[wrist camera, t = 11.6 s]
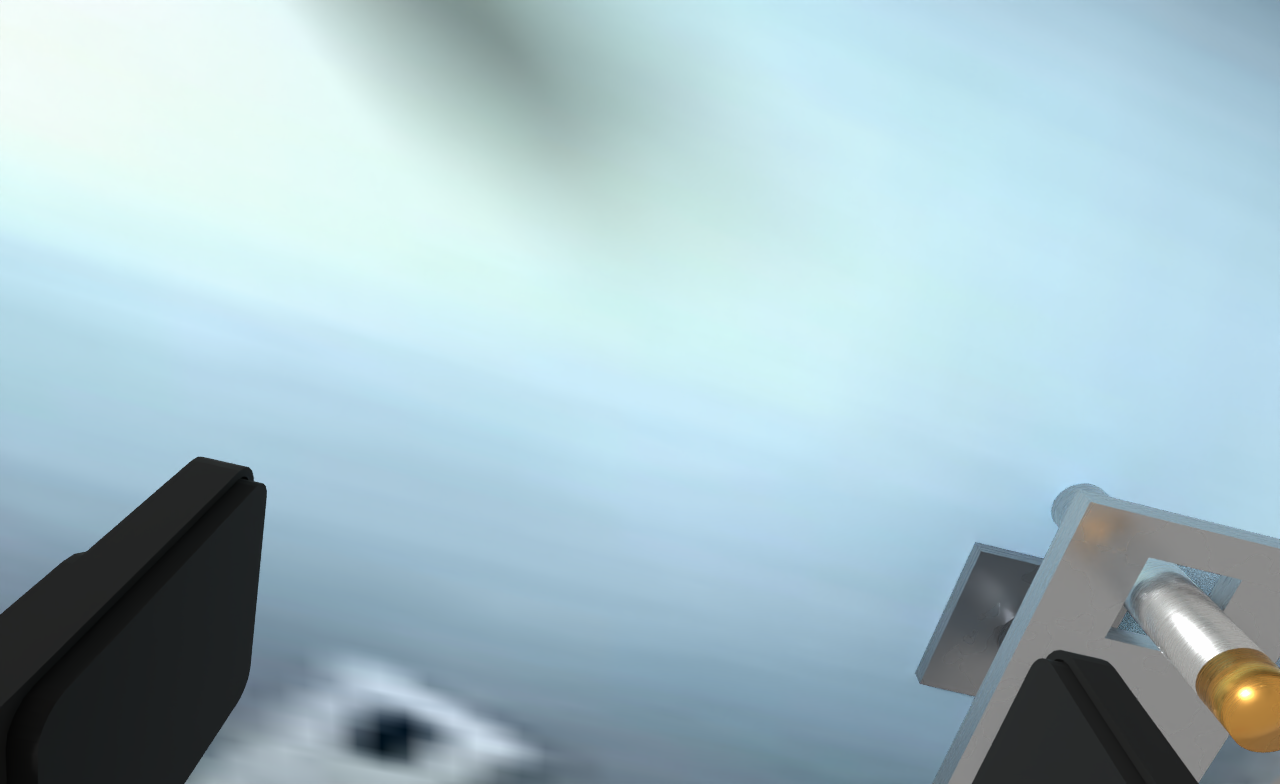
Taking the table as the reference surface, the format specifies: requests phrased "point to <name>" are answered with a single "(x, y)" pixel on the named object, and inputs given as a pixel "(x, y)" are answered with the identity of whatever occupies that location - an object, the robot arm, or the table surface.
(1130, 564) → the plate with square hole
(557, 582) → the table surface
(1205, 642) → the pin
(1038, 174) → the table surface
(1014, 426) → the table surface
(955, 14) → the table surface
